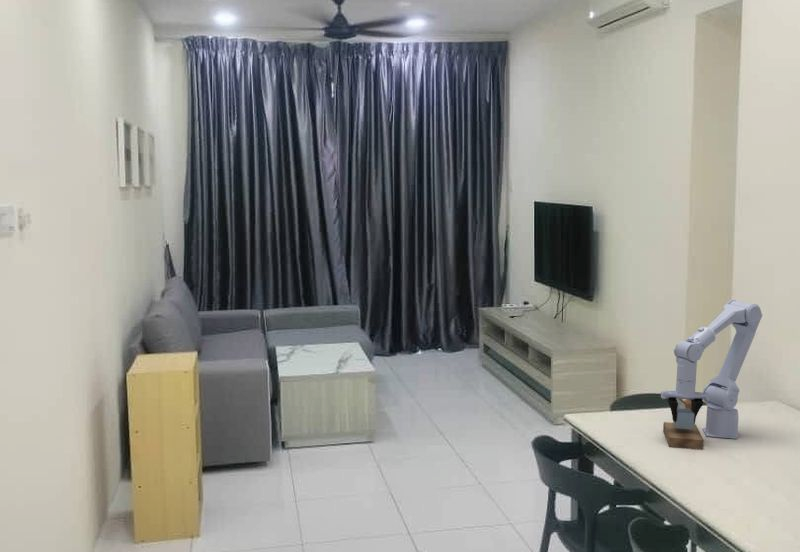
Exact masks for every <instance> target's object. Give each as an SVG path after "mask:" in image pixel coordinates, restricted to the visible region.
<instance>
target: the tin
mask: <svg viewBox="0 0 800 552" xmlns="http://www.w3.org/2000/svg"><path fill="white" fill-rule="evenodd" d="M676 400H677V402H678V407H677V408H678V409H691V399H676ZM696 419H697V418H696ZM696 419H695V421H696ZM694 424H696V422H695V423H694Z"/></svg>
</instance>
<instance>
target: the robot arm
mask: <svg viewBox="0 0 800 552" xmlns="http://www.w3.org/2000/svg"><path fill="white" fill-rule="evenodd" d="M762 317H763V314H762V310H761V307H760V306H759V305H758V304H756V303H749V302H744V301H739V300H736V299H731V300H729V301H728V302H727V303H725V305H723V309H722V312H720V314H719V315H718V316H717V317H716V318H715V319H713V320H712V322H710V324H709V325H708V326H701V327H698V329H697V330H696V331H695V332H694V333H693V334H691V335H690V336H689V337H688V338H686V339H685V340H680V341H679V342H678V343H676V345H675V349H673V353H674V356H675V362H676V364H677V365H676V366H677V368H676V380H675V381H676V382H675V383H676V384H675V390H668V391H667V390H665V391H663V390H661V391H660V398H661V399H662V400H665V399H666V401H667V402H668V405H669V408H670V411H671V417H672V422H673V421H674V422H676V420H677V407H678V402H677V400H676V399H689V400H690V401H691V410H692V411H693V412H694V423H695V424H696V420H695V419H697V416H698V414H699V411H700V410H701V408H702V406H703V405H704V402H705V406H706V420H705V427H702V431H703V432H704V434H705V436H706V437H708V438H709V437H710V438H723V439H724V438H725V439H734V440H735V439H737V440H738V432H739V411H738V409H737V408H735V407H736V406H737V403H738V398H739V393H740V388H739V386H738V385H737V383H736V381H737V378H738V376H739V374H740V372H741V369H742V367H743V364H744V362H745V359H746V357H747V355H748V352H749V350H750V348H751V346H752V343H753V340H754V339H755V335H756V333H757V329H758V327H759V324H760V323H761V320H762ZM730 325H731V326H732V327H733V328H734V329H735V331H736V332H735V335H734V337H733V339H732V342H731V343H730V346H729V349H728V351H727V353H726V357H725V359H724V361H723V363H722V366H721V368H720V369H719V370H720V371H719V372H718V375H717V376H715V377H712V378H711V379H709V382H708V383H707V385H706V386H705V387H704V388H703V390H702V392H699V391H696V384H697V383H696V382H697V367H698V366H697V365H698V361H699V360H701V358H702V356H703V353H704V351H705V350H706V348H708V347H709V346H710V345H711V344H712V343H714V342H715V341H716V335H718V334H719V333H720V332H722V331H723V330H724V329H725V328H727V327H728V326H730Z"/></svg>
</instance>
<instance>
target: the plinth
mask: <svg viewBox="0 0 800 552" xmlns="http://www.w3.org/2000/svg"><path fill="white" fill-rule="evenodd" d="M662 432H663V434H664V438H665V440H666V443H667V445H668V447H669V448H676V449H677V448H678V449H679V448H680V449H689V448H691V449H690V450H702V449H703V450H704V438H703V436H702V434H701V432H700V430H699V428H698V426H697V424H696V423H695V424H694V429H680V428H676V426H675V425H674V424H673V422H668V421H667V422H666V421H664V422H663V429H662Z"/></svg>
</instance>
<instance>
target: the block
mask: <svg viewBox="0 0 800 552" xmlns="http://www.w3.org/2000/svg"><path fill="white" fill-rule="evenodd" d="M672 423H673V424H674V425H675V426H676V428H680V429H694V412H693V411H692V410H691V409H678V408H677V420H676V422H674V421H673V420H672Z"/></svg>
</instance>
